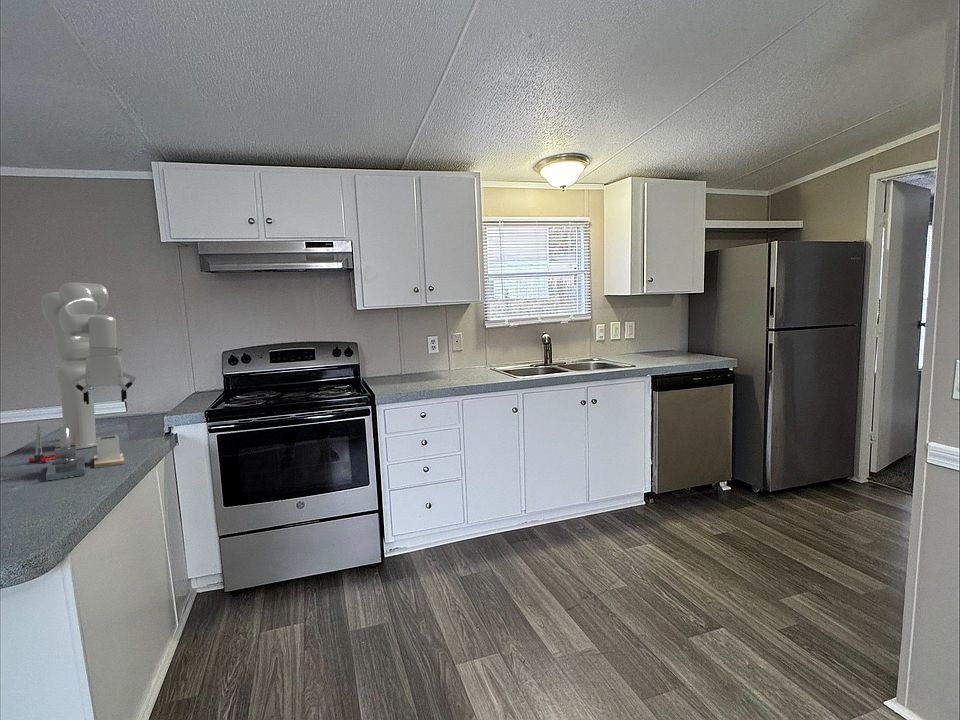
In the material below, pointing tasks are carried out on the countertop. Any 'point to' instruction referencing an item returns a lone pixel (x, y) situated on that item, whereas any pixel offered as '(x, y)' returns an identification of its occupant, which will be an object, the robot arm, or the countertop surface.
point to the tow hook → (40, 450)
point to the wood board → (108, 461)
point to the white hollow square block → (108, 448)
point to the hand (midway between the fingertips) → (105, 402)
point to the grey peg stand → (65, 459)
